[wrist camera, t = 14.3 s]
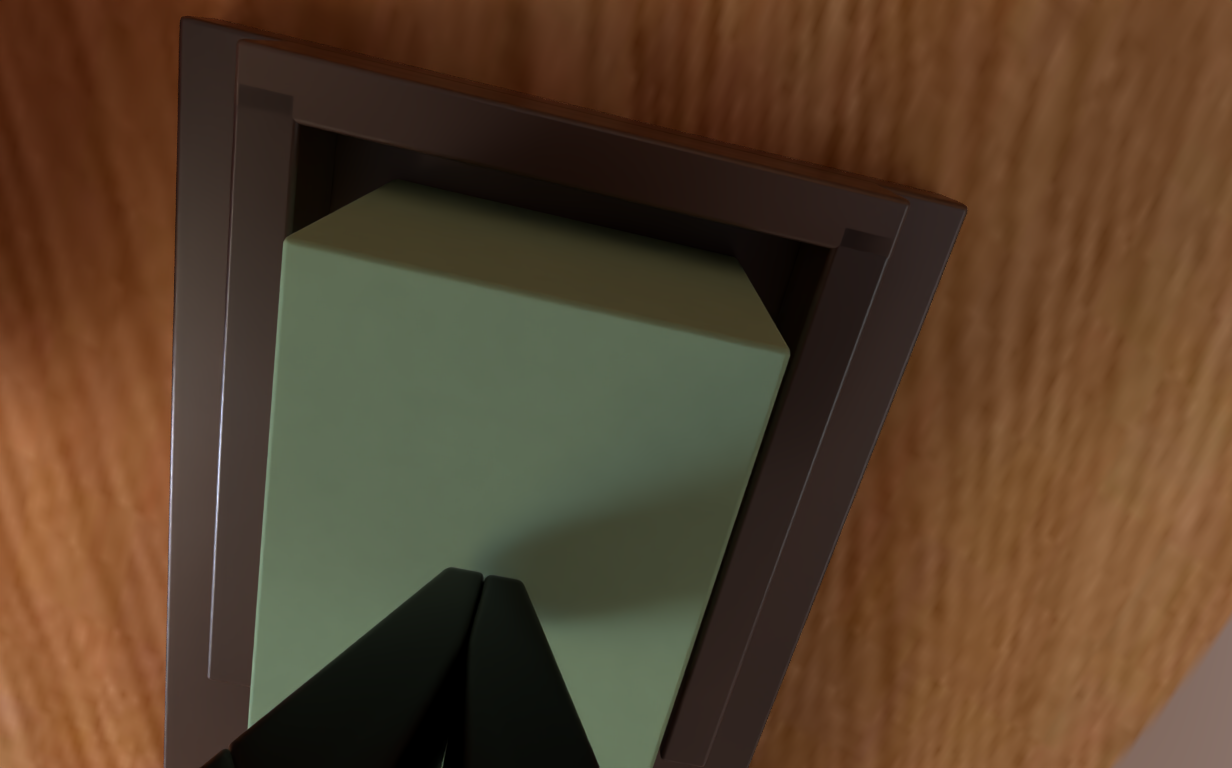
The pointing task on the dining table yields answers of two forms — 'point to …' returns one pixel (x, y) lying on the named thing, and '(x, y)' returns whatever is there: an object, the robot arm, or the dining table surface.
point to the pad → (508, 439)
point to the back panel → (553, 184)
